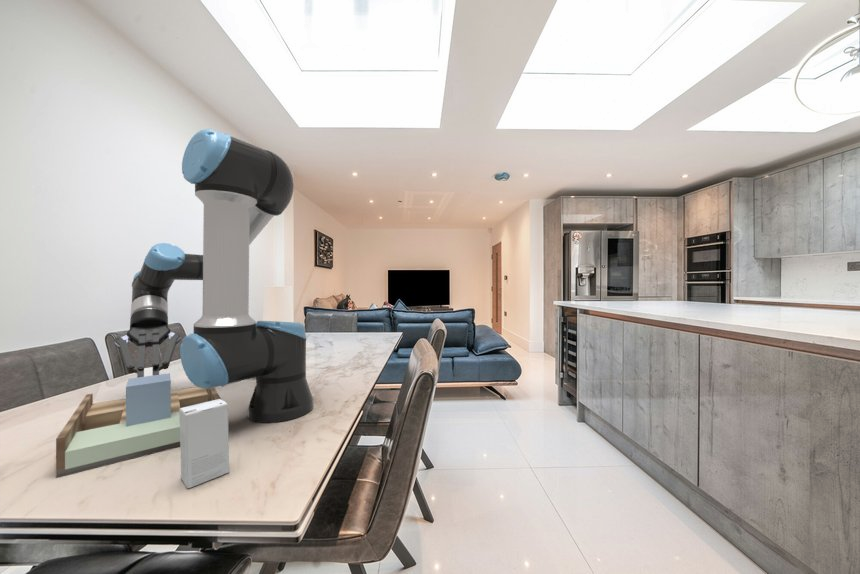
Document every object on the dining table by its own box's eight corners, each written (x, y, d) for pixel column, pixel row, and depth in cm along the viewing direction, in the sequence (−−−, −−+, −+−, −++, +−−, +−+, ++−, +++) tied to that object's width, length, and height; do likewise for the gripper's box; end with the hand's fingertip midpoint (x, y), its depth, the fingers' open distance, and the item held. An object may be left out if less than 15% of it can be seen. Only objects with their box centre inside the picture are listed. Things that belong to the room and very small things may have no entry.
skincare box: (221, 464, 58) (221, 397, 58) (230, 473, 55) (230, 402, 55) (178, 480, 53) (178, 406, 53) (186, 491, 50) (185, 413, 50)
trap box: (86, 421, 77) (86, 394, 77) (208, 399, 93) (208, 376, 93) (56, 477, 54) (56, 438, 54) (224, 435, 70) (224, 404, 70)
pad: (76, 447, 62) (76, 432, 62) (212, 417, 77) (212, 405, 77) (65, 469, 55) (65, 452, 55) (218, 431, 69) (218, 418, 69)
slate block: (128, 415, 70) (128, 378, 70) (169, 407, 75) (169, 373, 75) (126, 426, 65) (125, 386, 65) (170, 417, 69) (170, 380, 69)
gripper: (180, 324, 92) (183, 397, 79) (116, 327, 84) (108, 410, 71) (181, 306, 88) (184, 380, 75) (114, 308, 80) (105, 392, 67)
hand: (147, 395), depth 73 cm, fingers closed
